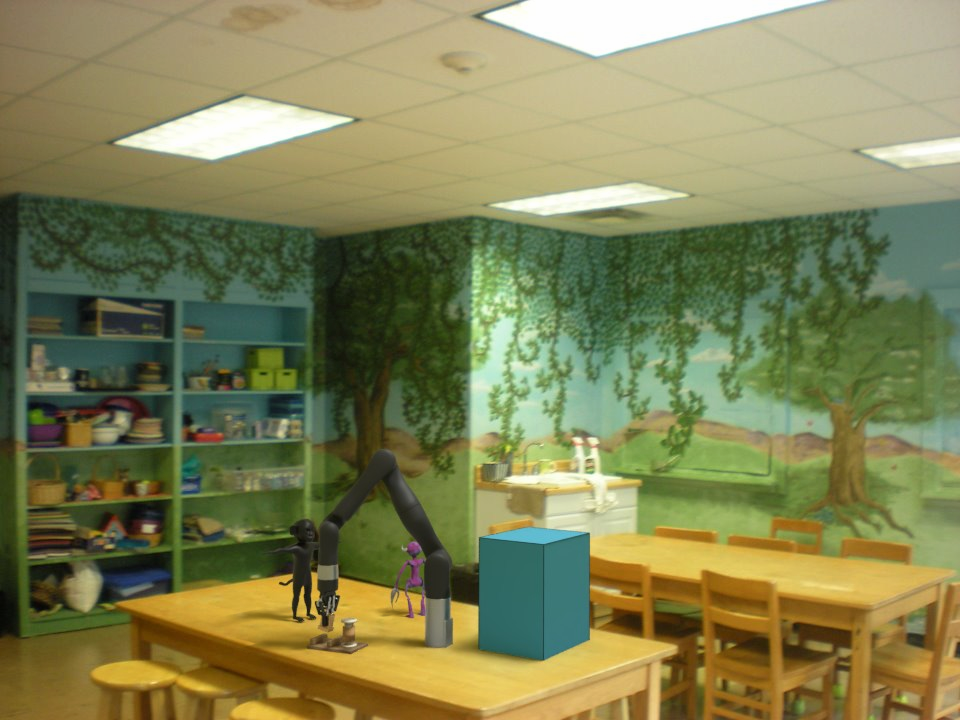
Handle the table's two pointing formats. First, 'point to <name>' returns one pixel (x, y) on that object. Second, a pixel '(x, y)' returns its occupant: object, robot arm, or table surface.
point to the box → (534, 592)
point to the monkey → (301, 563)
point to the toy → (415, 580)
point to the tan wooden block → (330, 623)
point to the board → (339, 640)
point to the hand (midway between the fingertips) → (327, 625)
